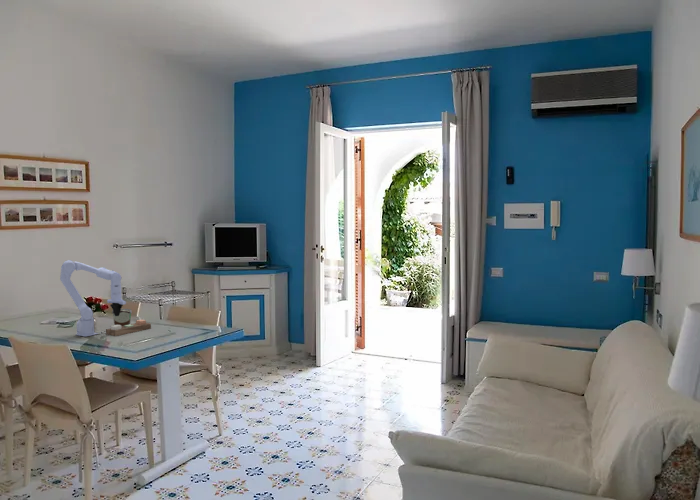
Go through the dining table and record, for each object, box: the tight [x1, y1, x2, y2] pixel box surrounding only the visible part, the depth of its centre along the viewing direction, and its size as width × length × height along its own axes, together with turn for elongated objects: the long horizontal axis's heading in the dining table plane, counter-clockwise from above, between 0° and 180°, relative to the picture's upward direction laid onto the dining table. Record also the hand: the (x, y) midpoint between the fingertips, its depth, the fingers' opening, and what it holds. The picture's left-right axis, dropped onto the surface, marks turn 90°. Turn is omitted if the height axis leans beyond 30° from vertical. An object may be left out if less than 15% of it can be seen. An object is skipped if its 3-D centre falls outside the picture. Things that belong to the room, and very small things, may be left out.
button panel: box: [105, 322, 152, 337], centre depth 334 cm, size 9×24×3 cm, turn 148°
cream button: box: [110, 325, 121, 330], centre depth 327 cm, size 4×4×3 cm
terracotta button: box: [135, 319, 147, 325], centre depth 341 cm, size 4×4×3 cm
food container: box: [111, 308, 133, 326], centre depth 352 cm, size 12×6×10 cm, turn 84°
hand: (117, 315), depth 333 cm, fingers closed
